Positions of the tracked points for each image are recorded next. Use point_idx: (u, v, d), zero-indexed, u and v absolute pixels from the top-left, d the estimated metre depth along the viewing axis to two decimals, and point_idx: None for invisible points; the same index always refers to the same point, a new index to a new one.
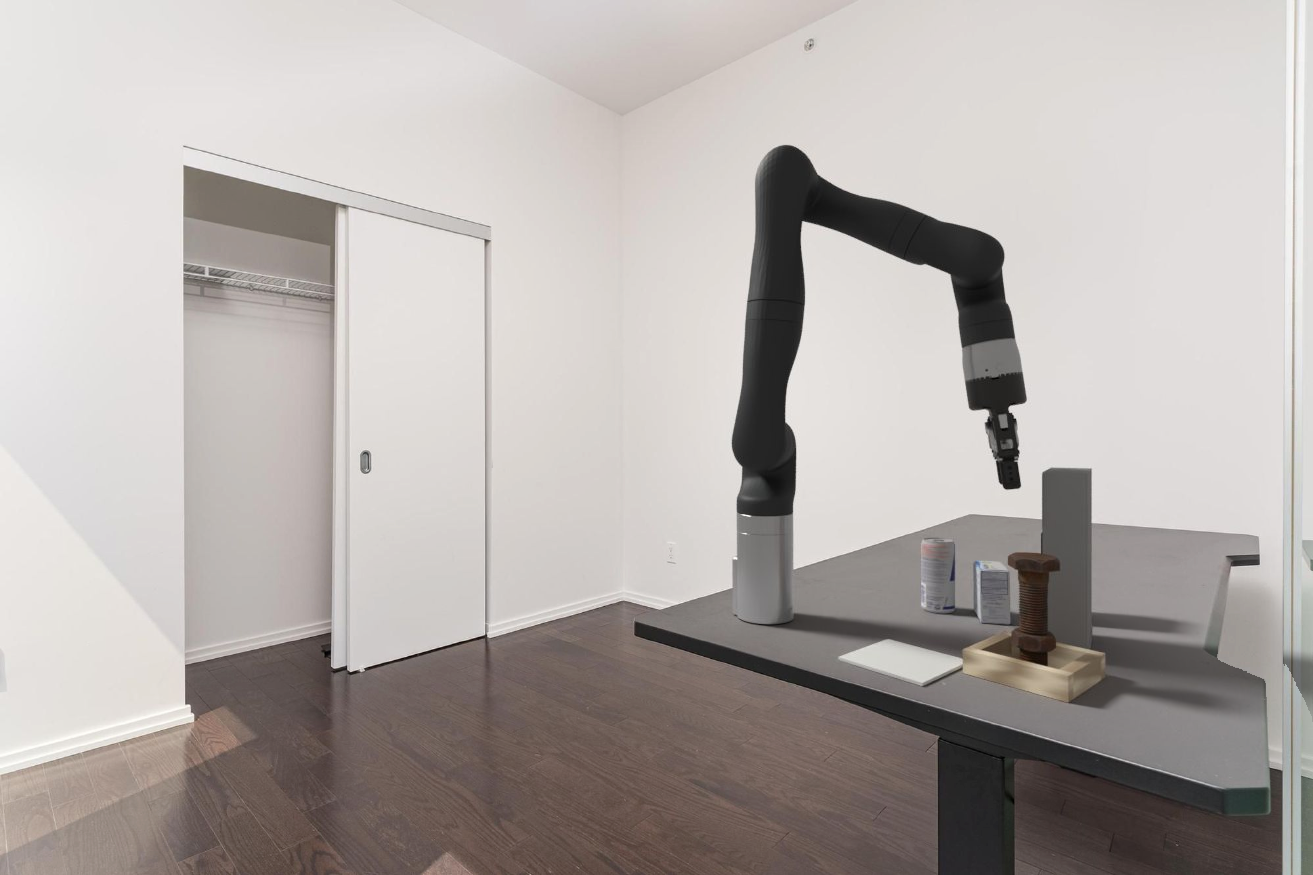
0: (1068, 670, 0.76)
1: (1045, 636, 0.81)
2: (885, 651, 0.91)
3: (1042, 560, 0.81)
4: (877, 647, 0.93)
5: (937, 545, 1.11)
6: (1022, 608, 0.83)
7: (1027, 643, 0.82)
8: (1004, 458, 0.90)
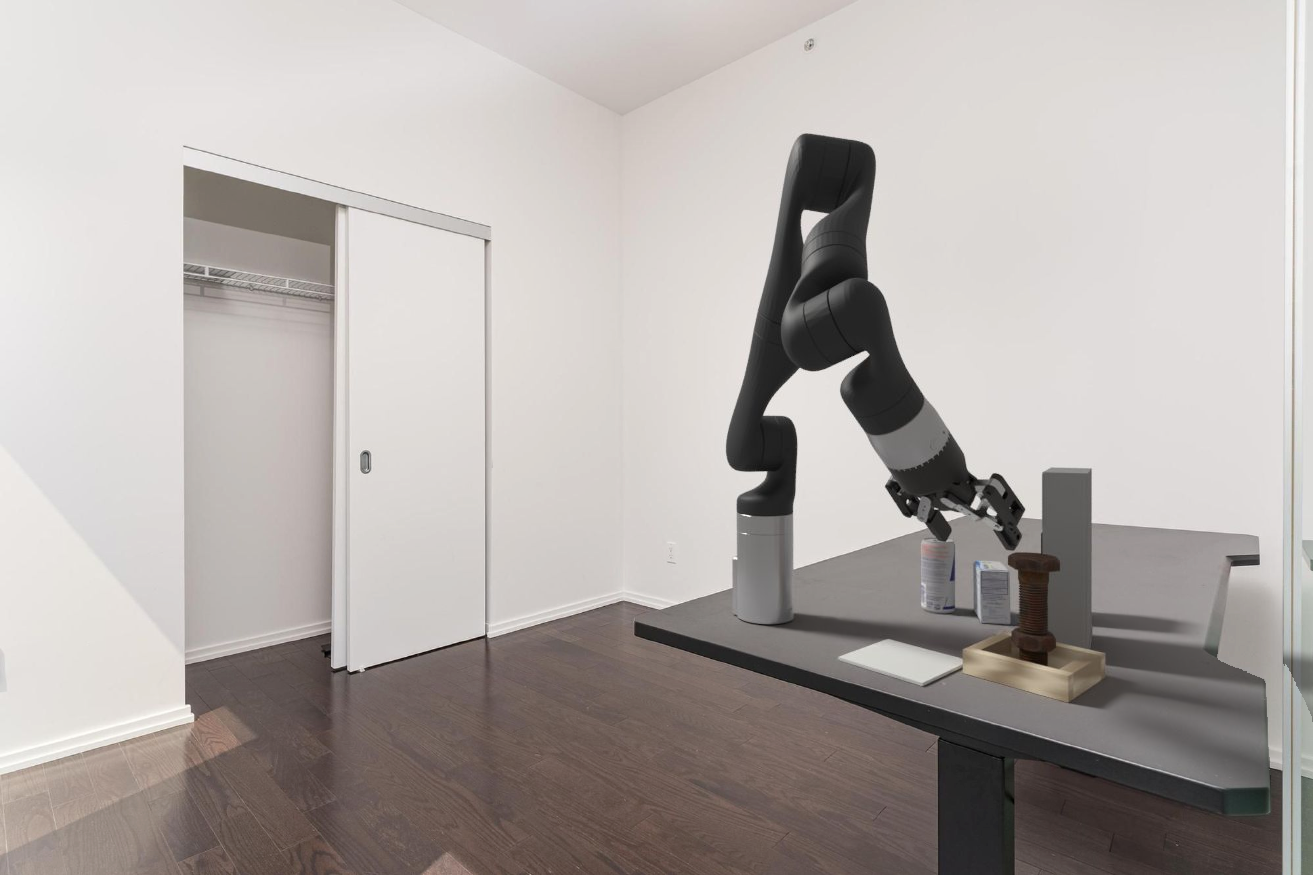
0: (1068, 670, 0.76)
1: (1045, 636, 0.81)
2: (885, 651, 0.91)
3: (1042, 560, 0.81)
4: (877, 647, 0.93)
5: (937, 545, 1.11)
6: (1022, 608, 0.83)
7: (1027, 643, 0.82)
8: None
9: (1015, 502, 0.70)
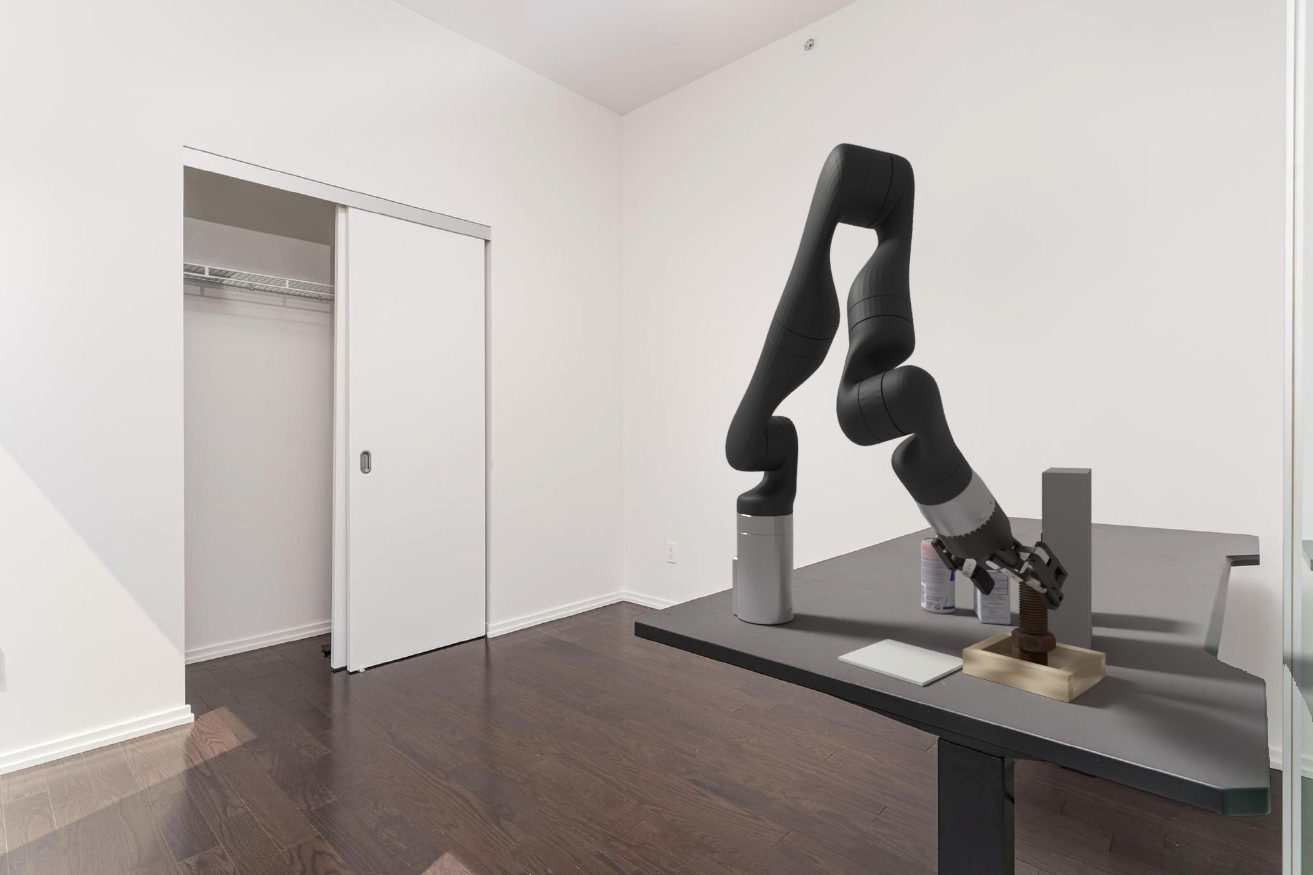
0: (1068, 670, 0.76)
1: (1045, 636, 0.81)
2: (885, 651, 0.91)
3: None
4: (877, 647, 0.93)
5: None
6: (1022, 608, 0.83)
7: (1027, 643, 0.82)
8: None
9: (1058, 568, 0.74)
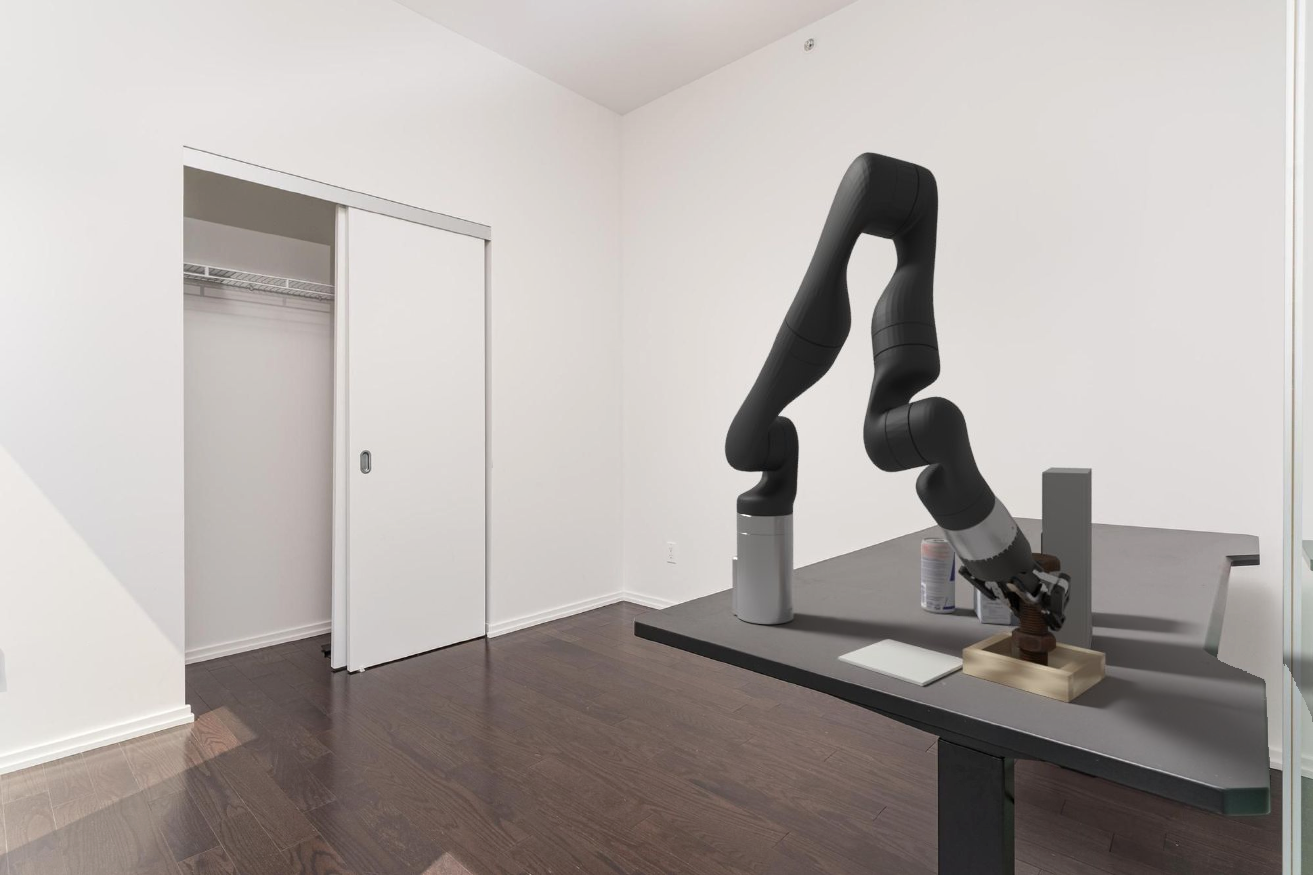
0: (1068, 670, 0.76)
1: (1045, 636, 0.81)
2: (885, 651, 0.91)
3: (1042, 560, 0.81)
4: (877, 647, 0.93)
5: (937, 545, 1.11)
6: (1022, 608, 0.83)
7: (1027, 643, 0.82)
8: None
9: None
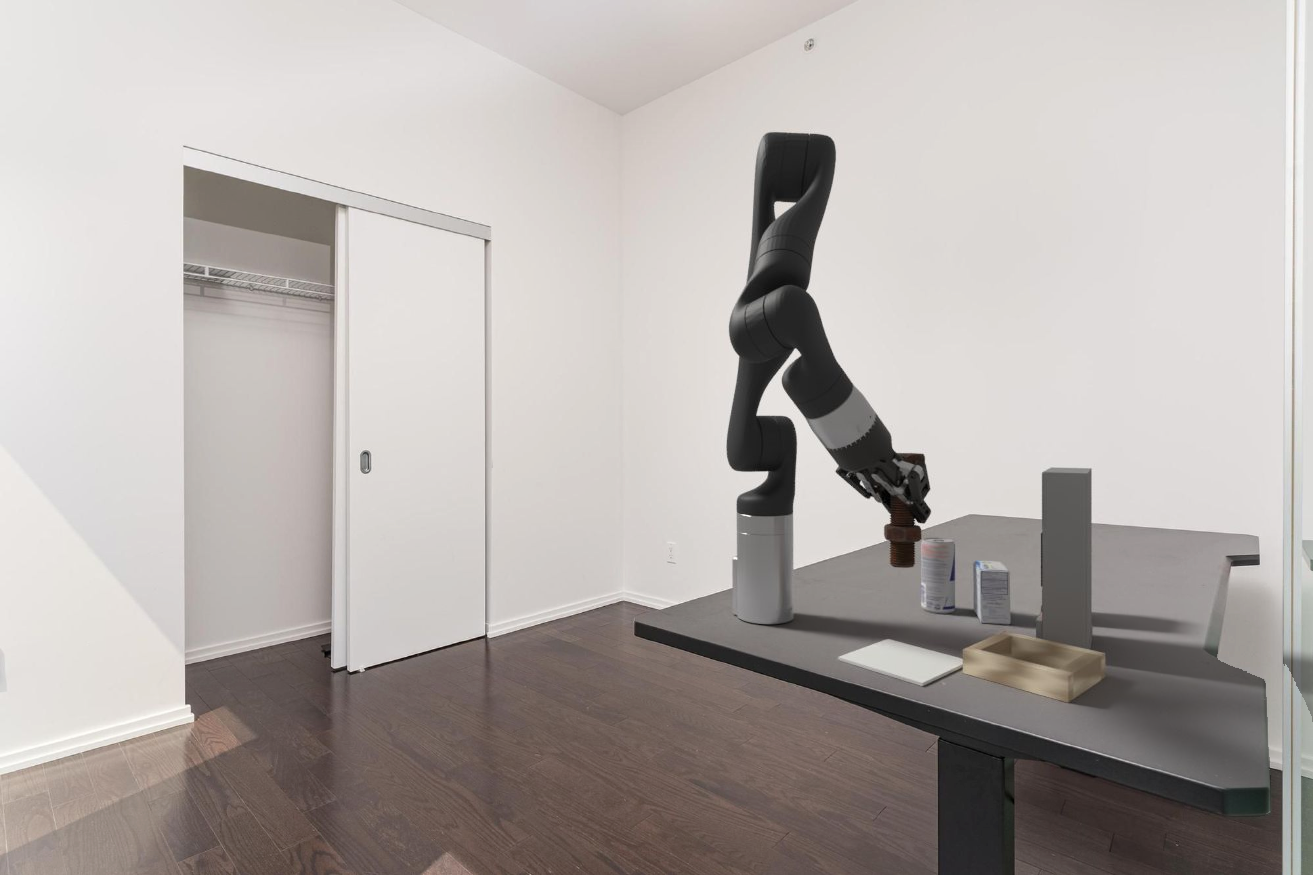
0: (1068, 670, 0.76)
1: (911, 527, 0.86)
2: (885, 651, 0.91)
3: (907, 454, 0.85)
4: (877, 647, 0.93)
5: (937, 545, 1.11)
6: (892, 503, 0.88)
7: (894, 534, 0.86)
8: None
9: (926, 484, 0.83)
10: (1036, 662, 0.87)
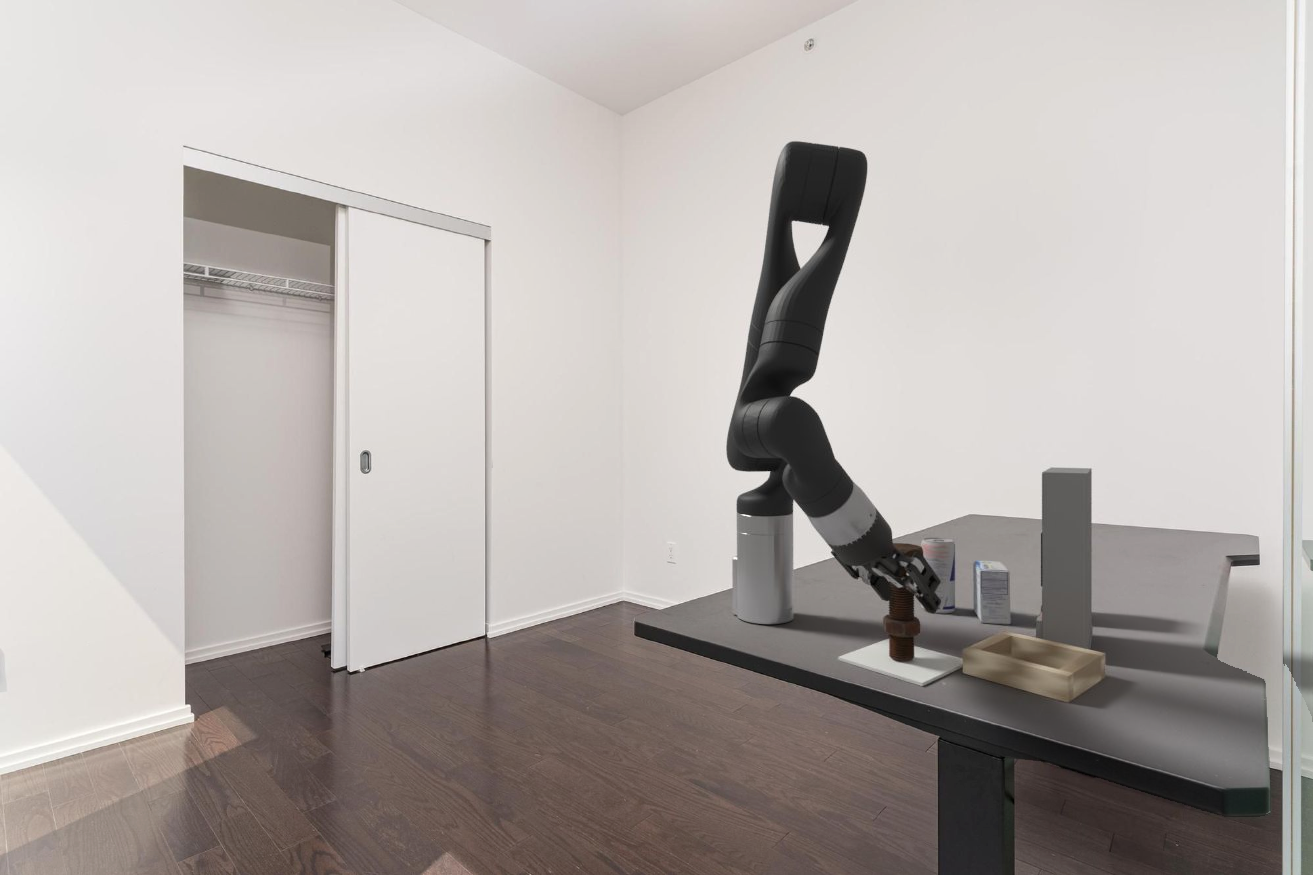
0: (1068, 670, 0.76)
1: (910, 621, 0.86)
2: (885, 651, 0.91)
3: (905, 550, 0.86)
4: (877, 647, 0.93)
5: (937, 545, 1.11)
6: (890, 595, 0.88)
7: (893, 628, 0.87)
8: None
9: (932, 576, 0.81)
10: (1036, 662, 0.87)
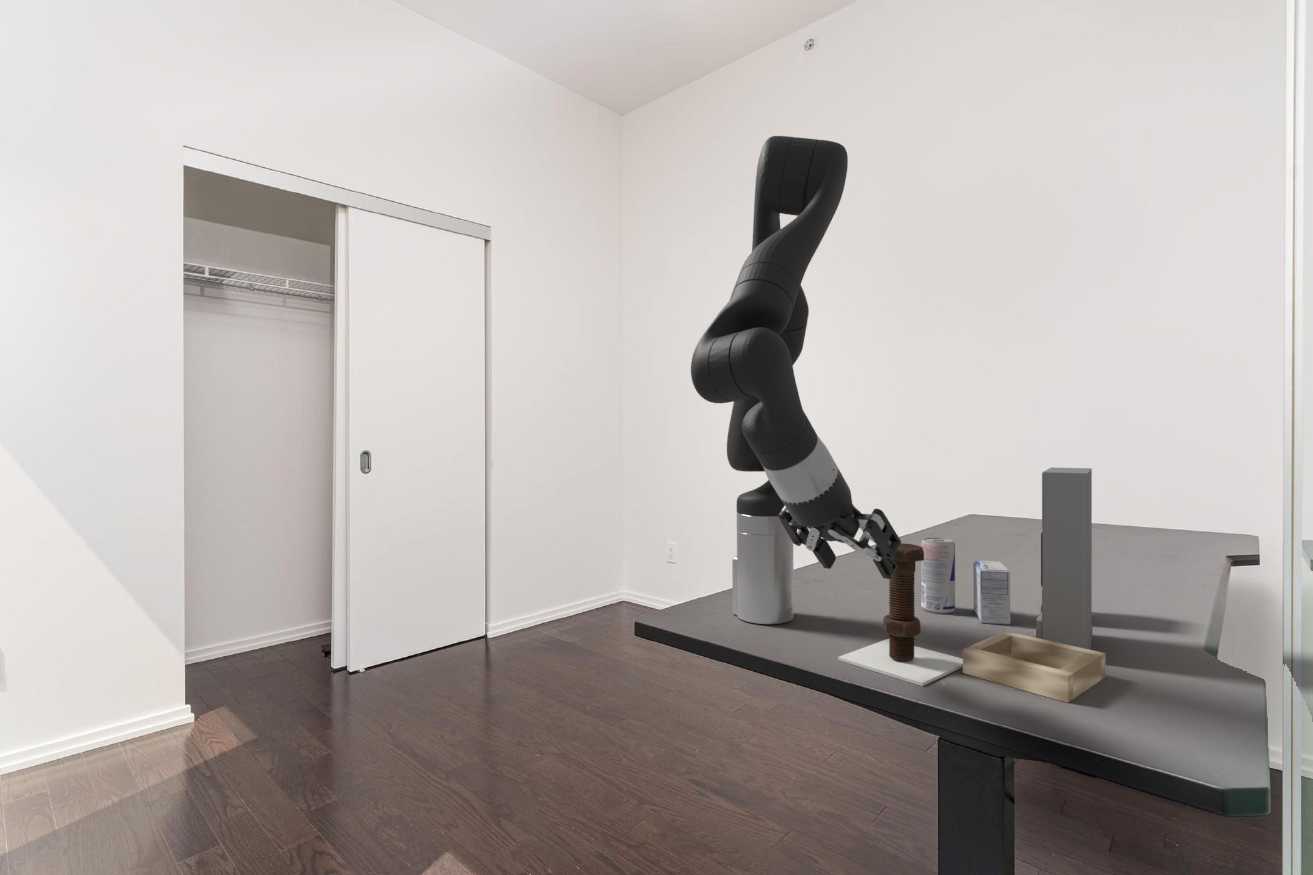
0: (1068, 670, 0.76)
1: (910, 622, 0.86)
2: (885, 651, 0.91)
3: (906, 550, 0.85)
4: (877, 647, 0.93)
5: (937, 545, 1.11)
6: (891, 595, 0.88)
7: (893, 628, 0.87)
8: None
9: (893, 535, 0.76)
10: (1036, 662, 0.87)
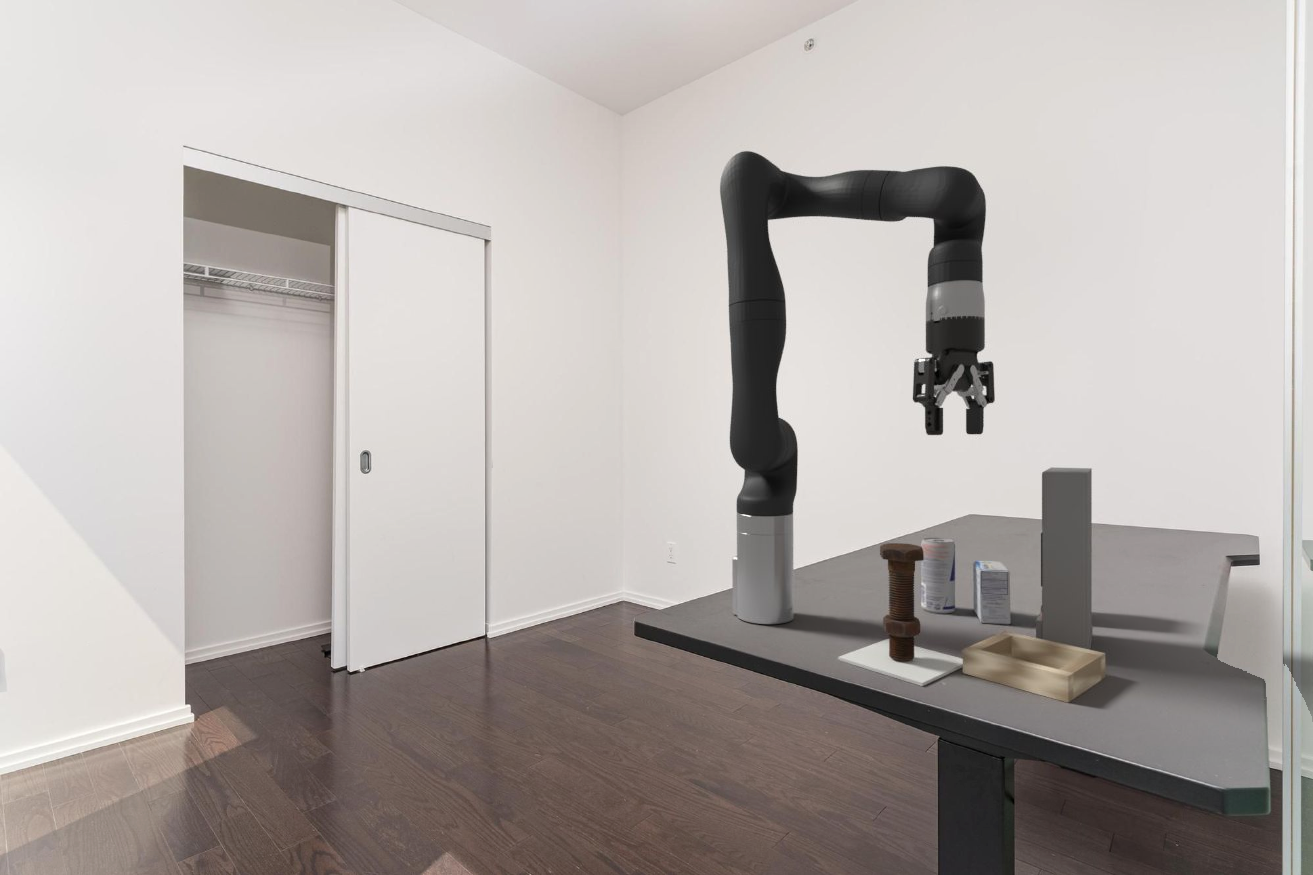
0: (1068, 670, 0.76)
1: (910, 622, 0.86)
2: (885, 651, 0.91)
3: (906, 550, 0.85)
4: (877, 647, 0.93)
5: (937, 545, 1.11)
6: (890, 595, 0.88)
7: (893, 628, 0.87)
8: (920, 402, 0.90)
9: None
10: (1036, 662, 0.87)
